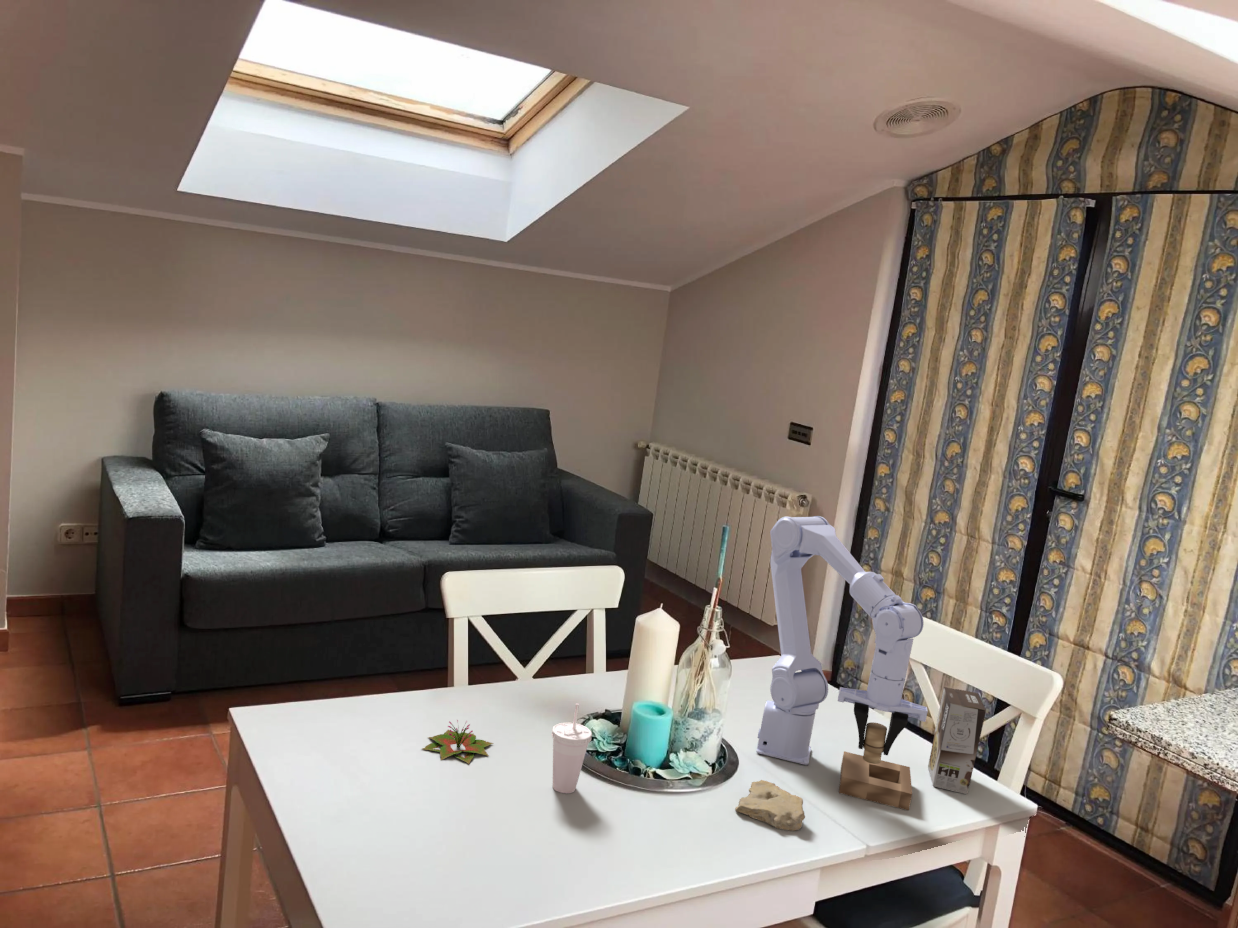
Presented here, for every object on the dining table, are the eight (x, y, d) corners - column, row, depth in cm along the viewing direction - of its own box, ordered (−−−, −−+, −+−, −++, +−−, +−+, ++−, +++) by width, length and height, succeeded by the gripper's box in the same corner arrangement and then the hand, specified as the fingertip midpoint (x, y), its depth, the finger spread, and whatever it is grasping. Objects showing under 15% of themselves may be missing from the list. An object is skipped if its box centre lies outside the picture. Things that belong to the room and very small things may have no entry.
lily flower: (472, 774, 157) (475, 747, 157) (407, 753, 161) (410, 727, 160) (505, 746, 169) (508, 721, 168) (444, 727, 172) (447, 702, 172)
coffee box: (969, 795, 175) (987, 710, 172) (932, 786, 176) (949, 702, 174) (962, 773, 184) (979, 692, 181) (926, 765, 185) (943, 684, 182)
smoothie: (590, 786, 158) (602, 704, 156) (572, 801, 152) (584, 717, 150) (556, 773, 161) (567, 693, 158) (536, 788, 155) (548, 705, 153)
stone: (716, 789, 161) (768, 773, 165) (717, 809, 162) (769, 793, 166) (759, 823, 150) (813, 805, 154) (761, 844, 150) (815, 826, 154)
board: (839, 792, 168) (842, 776, 168) (840, 766, 179) (843, 751, 178) (908, 810, 166) (912, 793, 165) (906, 782, 176) (909, 766, 176)
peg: (860, 761, 165) (865, 728, 164) (861, 753, 169) (866, 720, 168) (882, 766, 164) (887, 732, 164) (882, 757, 168) (887, 724, 167)
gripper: (843, 671, 162) (828, 748, 164) (933, 692, 159) (917, 770, 161) (845, 658, 169) (831, 732, 171) (931, 678, 166) (916, 752, 168)
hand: (873, 749), depth 166 cm, fingers closed on peg, 3 cm apart
